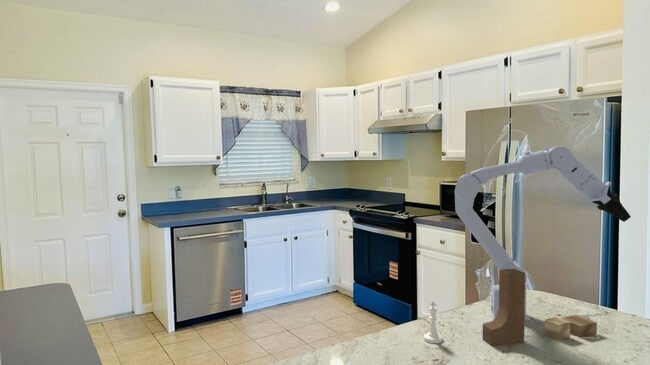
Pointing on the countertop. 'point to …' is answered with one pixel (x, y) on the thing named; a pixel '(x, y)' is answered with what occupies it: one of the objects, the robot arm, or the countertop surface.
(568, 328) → the maple cube
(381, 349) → the countertop surface
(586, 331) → the walnut slab
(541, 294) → the countertop surface
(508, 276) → the wooden block
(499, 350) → the countertop surface
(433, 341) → the chess piece
